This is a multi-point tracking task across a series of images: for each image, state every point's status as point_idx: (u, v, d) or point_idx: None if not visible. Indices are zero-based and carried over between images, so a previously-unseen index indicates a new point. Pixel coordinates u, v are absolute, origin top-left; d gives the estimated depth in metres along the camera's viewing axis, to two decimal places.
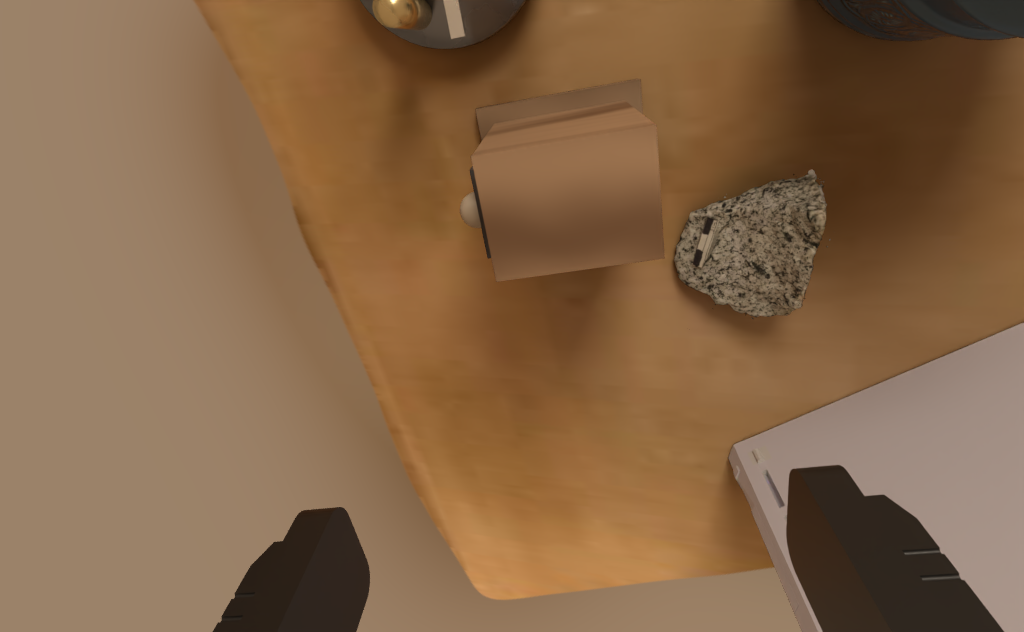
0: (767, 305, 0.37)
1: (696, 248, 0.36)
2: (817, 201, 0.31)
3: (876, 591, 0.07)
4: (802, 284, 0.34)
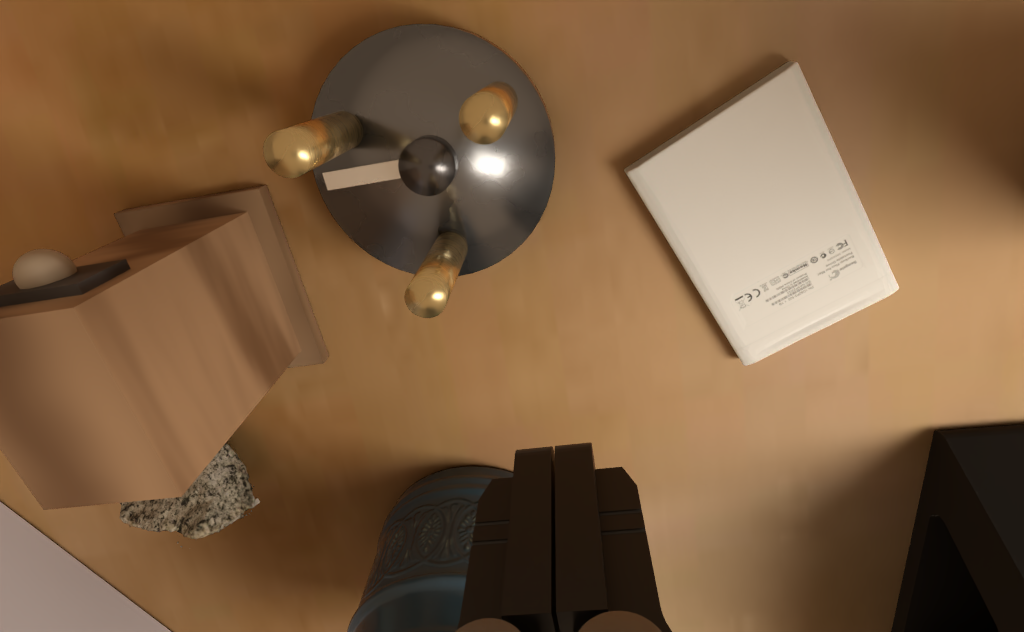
0: None
1: None
2: (222, 522, 0.32)
3: (561, 540, 0.08)
4: (141, 522, 0.33)
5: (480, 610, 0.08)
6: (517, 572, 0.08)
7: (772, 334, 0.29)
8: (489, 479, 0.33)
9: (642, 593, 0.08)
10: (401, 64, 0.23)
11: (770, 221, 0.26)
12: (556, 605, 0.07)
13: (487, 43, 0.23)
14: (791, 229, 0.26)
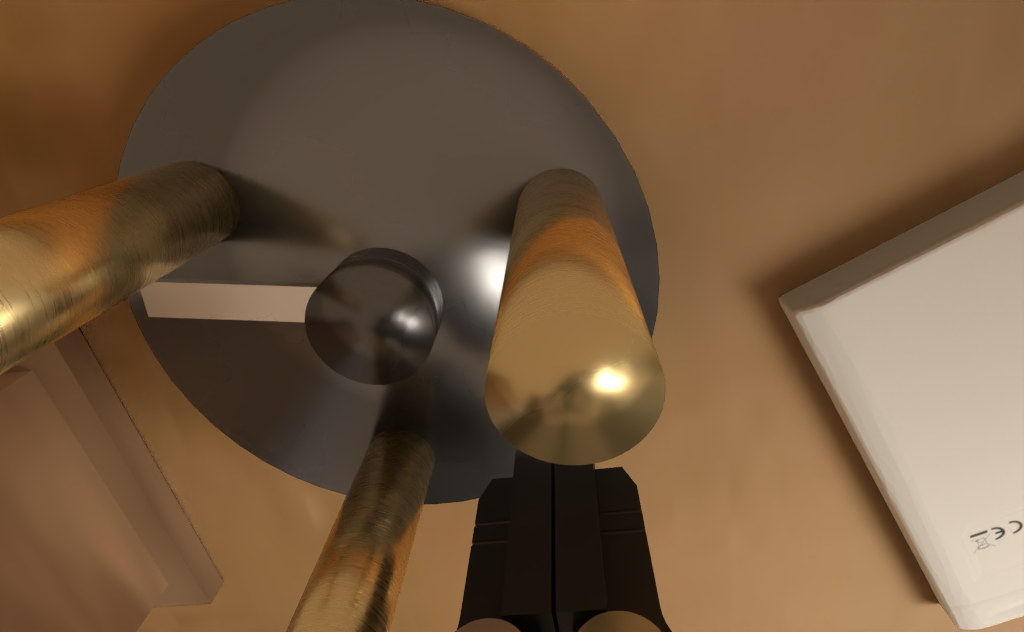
0: None
1: None
2: None
3: (561, 540, 0.08)
4: None
5: (479, 610, 0.08)
6: (517, 572, 0.08)
7: None
8: None
9: (642, 593, 0.08)
10: (347, 85, 0.10)
11: None
12: (556, 605, 0.07)
13: (562, 79, 0.09)
14: None
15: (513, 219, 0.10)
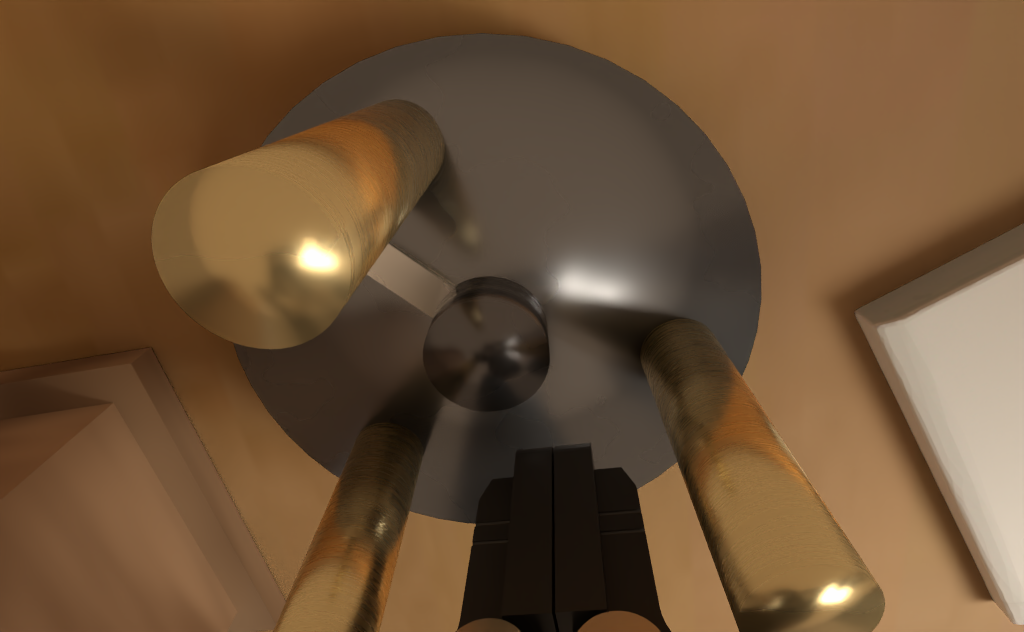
0: None
1: None
2: None
3: (560, 540, 0.08)
4: None
5: (480, 610, 0.08)
6: (518, 572, 0.08)
7: None
8: None
9: (642, 593, 0.08)
10: (611, 160, 0.10)
11: None
12: (556, 605, 0.07)
13: (758, 271, 0.11)
14: None
15: (643, 336, 0.11)
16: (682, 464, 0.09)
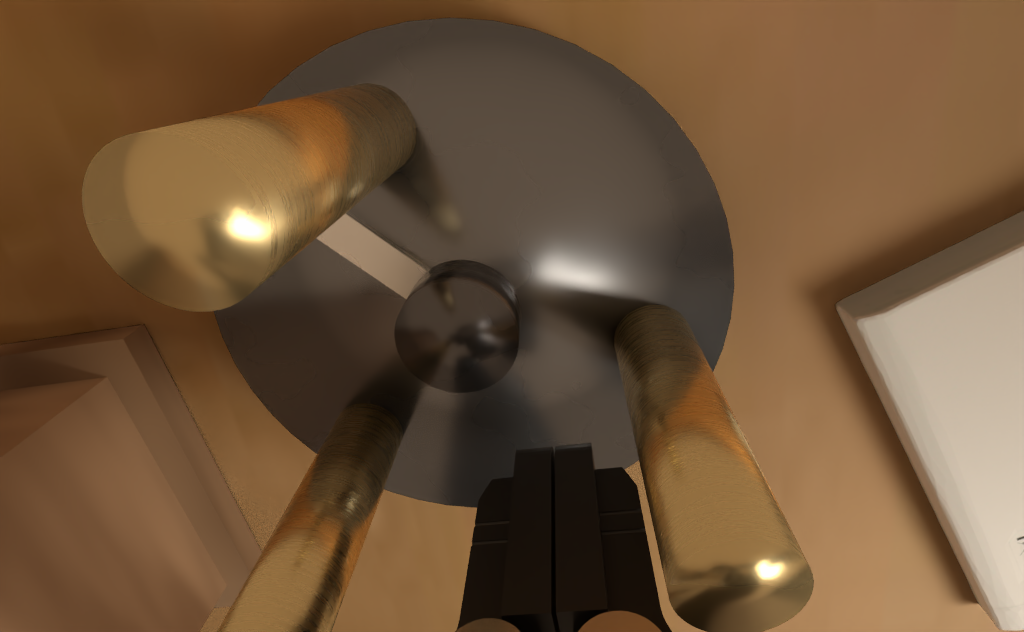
0: None
1: None
2: None
3: (561, 540, 0.08)
4: None
5: (479, 609, 0.08)
6: (517, 572, 0.08)
7: None
8: None
9: (642, 593, 0.08)
10: (580, 145, 0.10)
11: None
12: (556, 605, 0.07)
13: (730, 258, 0.11)
14: None
15: (616, 322, 0.12)
16: (637, 445, 0.09)
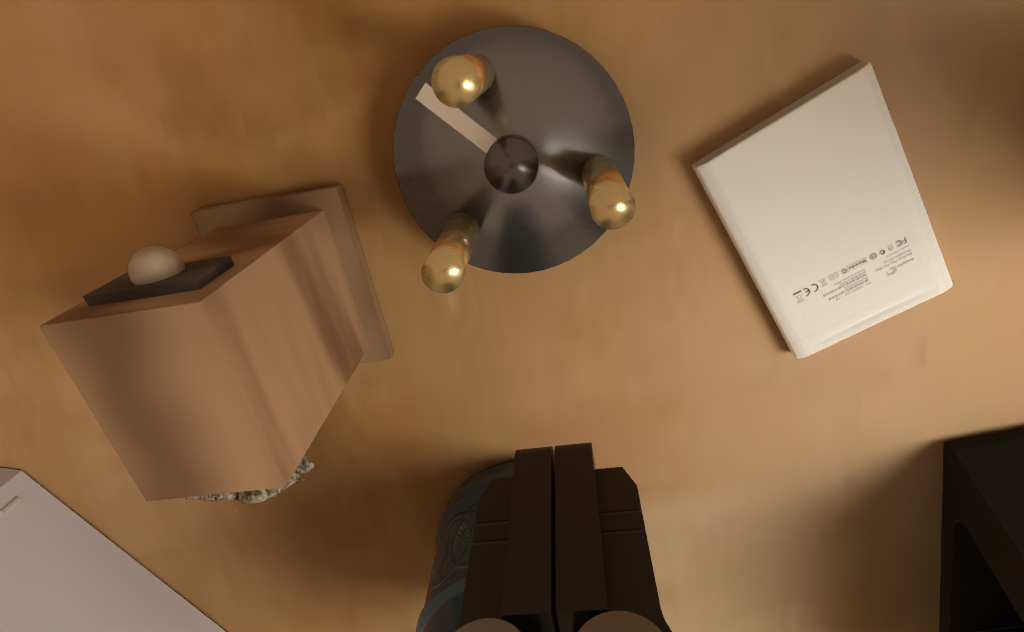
0: None
1: None
2: None
3: (561, 540, 0.08)
4: None
5: (479, 609, 0.08)
6: (517, 572, 0.08)
7: (827, 328, 0.29)
8: None
9: (642, 593, 0.08)
10: (564, 79, 0.24)
11: (833, 217, 0.27)
12: (556, 605, 0.07)
13: (631, 131, 0.24)
14: (853, 226, 0.27)
15: (582, 164, 0.25)
16: (586, 191, 0.22)
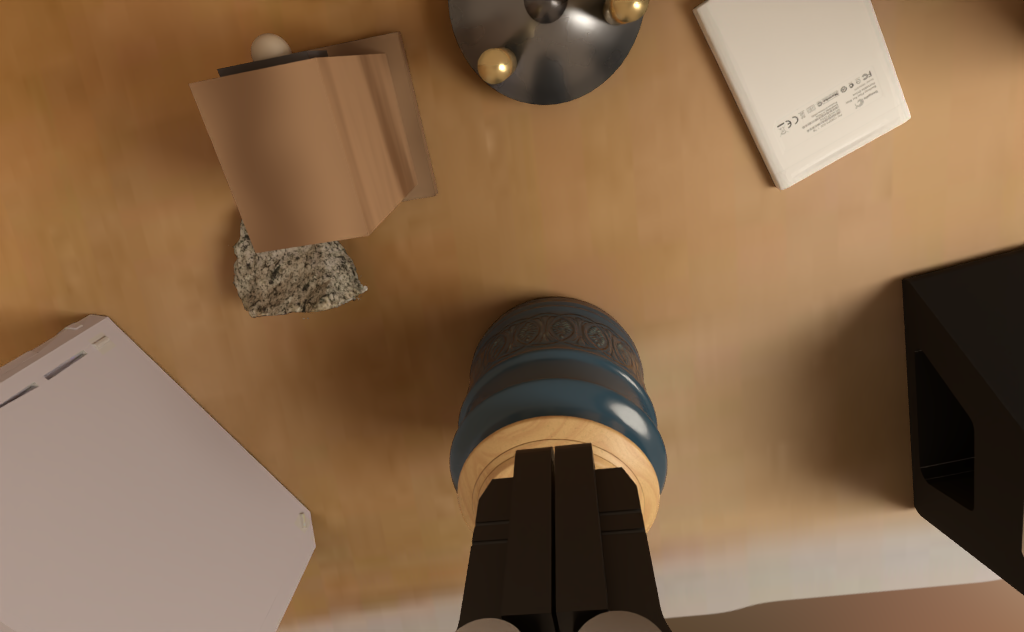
0: (247, 290, 0.40)
1: None
2: (339, 299, 0.37)
3: (561, 540, 0.08)
4: (269, 311, 0.38)
5: (479, 610, 0.08)
6: (517, 572, 0.08)
7: (806, 159, 0.35)
8: (570, 302, 0.39)
9: (642, 593, 0.08)
10: None
11: (810, 53, 0.32)
12: (556, 605, 0.07)
13: None
14: (826, 61, 0.32)
15: (603, 1, 0.31)
16: (608, 5, 0.28)
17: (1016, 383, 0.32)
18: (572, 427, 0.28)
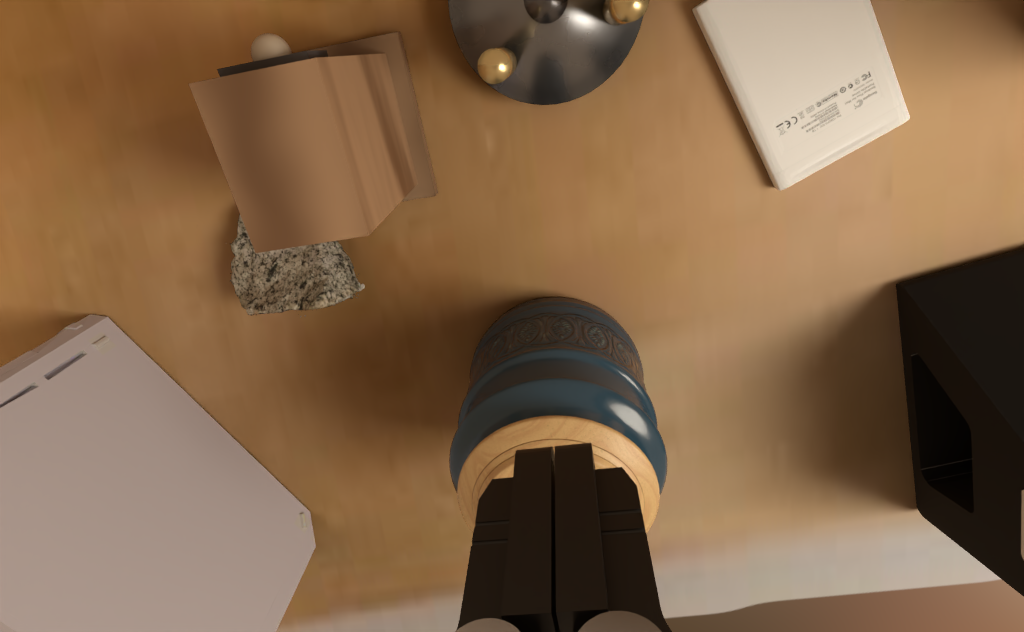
0: (244, 288, 0.40)
1: None
2: (336, 297, 0.37)
3: (561, 540, 0.08)
4: (266, 308, 0.38)
5: (479, 610, 0.08)
6: (517, 572, 0.08)
7: (805, 159, 0.35)
8: (570, 302, 0.39)
9: (642, 593, 0.08)
10: None
11: (809, 53, 0.32)
12: (556, 605, 0.07)
13: None
14: (826, 61, 0.32)
15: (603, 1, 0.31)
16: (608, 5, 0.28)
17: (1010, 387, 0.32)
18: (572, 427, 0.28)
